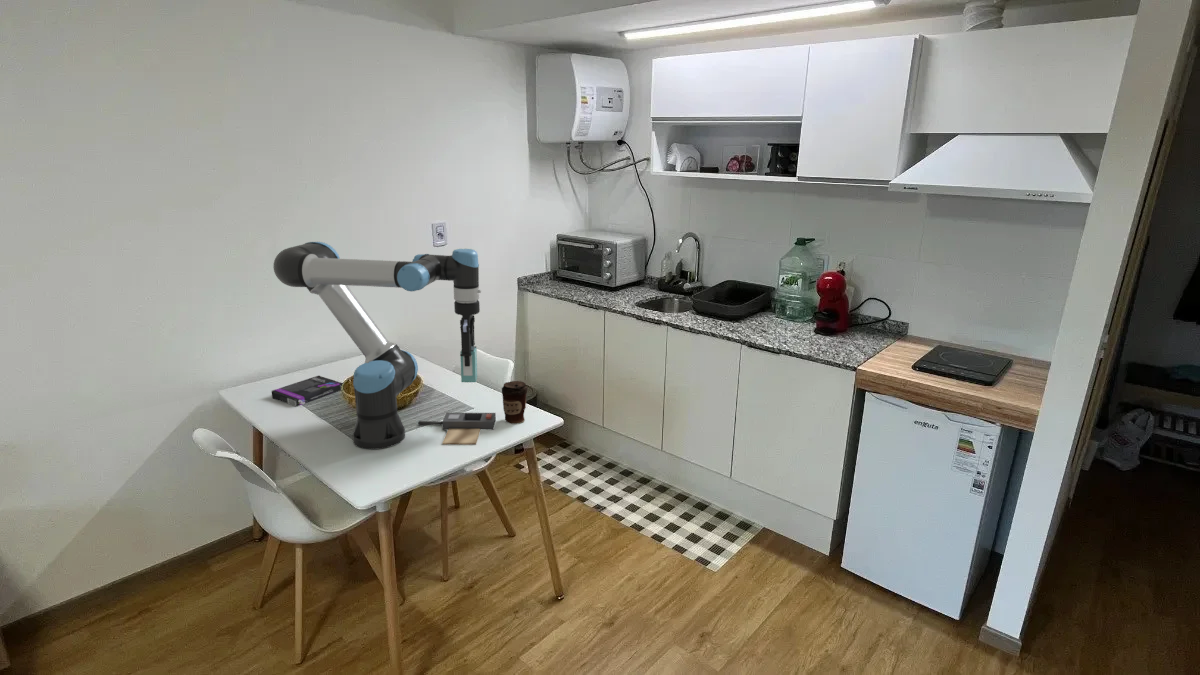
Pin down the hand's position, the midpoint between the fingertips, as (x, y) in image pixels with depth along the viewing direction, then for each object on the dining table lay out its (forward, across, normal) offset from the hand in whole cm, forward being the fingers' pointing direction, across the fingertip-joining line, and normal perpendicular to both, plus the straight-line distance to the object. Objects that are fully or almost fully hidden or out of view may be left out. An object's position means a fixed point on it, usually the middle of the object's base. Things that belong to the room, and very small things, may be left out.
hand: (469, 372), depth 198 cm
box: (+20, +28, +61) cm, 70 cm away
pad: (+18, -8, +2) cm, 20 cm away
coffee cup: (+19, +4, -14) cm, 24 cm away
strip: (+19, +1, +5) cm, 19 cm away
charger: (+3, 0, 0) cm, 3 cm away
